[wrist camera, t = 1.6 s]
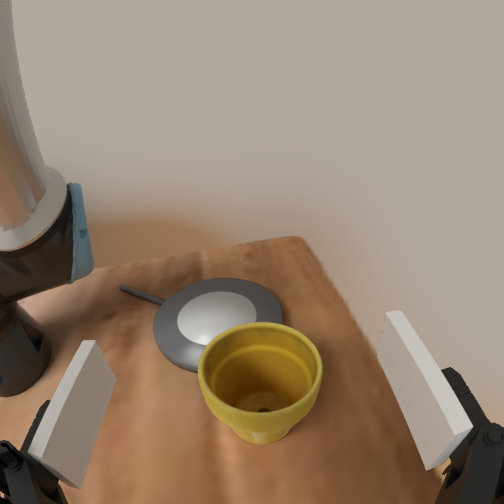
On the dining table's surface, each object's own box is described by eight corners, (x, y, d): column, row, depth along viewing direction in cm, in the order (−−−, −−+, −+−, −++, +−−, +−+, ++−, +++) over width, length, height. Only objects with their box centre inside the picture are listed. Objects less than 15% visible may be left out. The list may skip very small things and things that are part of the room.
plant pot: (310, 379, 32) (317, 319, 27) (314, 459, 23) (329, 415, 19) (221, 378, 33) (208, 319, 28) (208, 456, 24) (185, 412, 19)
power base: (85, 318, 43) (82, 311, 42) (153, 262, 57) (151, 255, 56) (246, 394, 31) (245, 387, 30) (300, 299, 45) (301, 291, 44)
